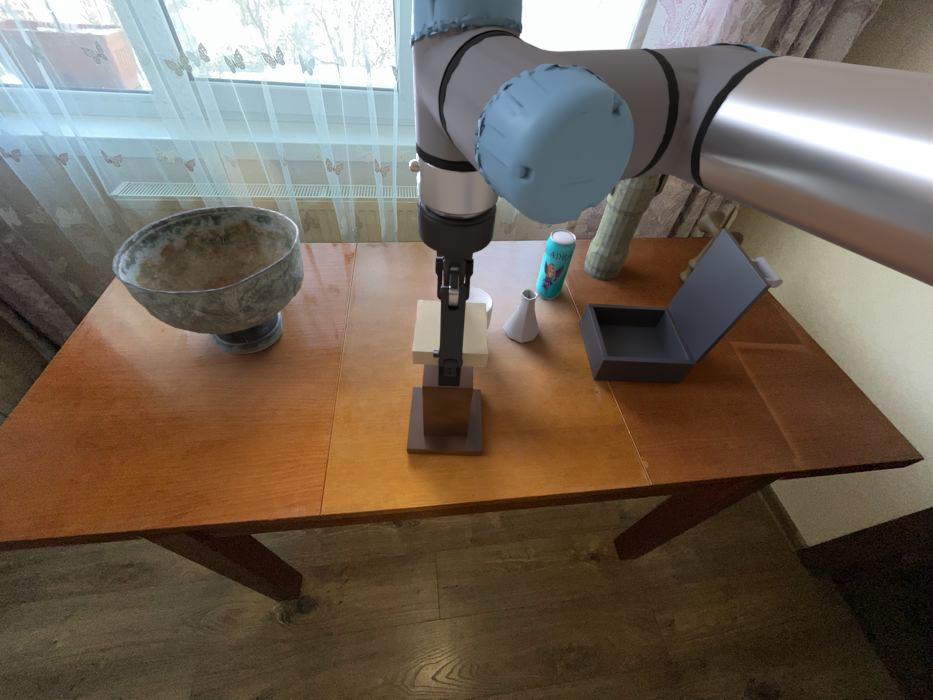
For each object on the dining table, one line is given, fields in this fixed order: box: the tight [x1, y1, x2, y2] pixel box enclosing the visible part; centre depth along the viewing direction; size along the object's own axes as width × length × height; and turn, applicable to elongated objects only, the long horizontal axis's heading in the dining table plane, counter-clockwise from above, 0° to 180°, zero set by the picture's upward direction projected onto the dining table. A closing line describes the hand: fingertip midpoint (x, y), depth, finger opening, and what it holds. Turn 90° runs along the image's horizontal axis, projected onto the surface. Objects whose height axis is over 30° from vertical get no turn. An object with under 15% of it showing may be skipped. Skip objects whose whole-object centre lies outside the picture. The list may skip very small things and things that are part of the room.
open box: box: [578, 302, 697, 384], centre depth 79 cm, size 17×15×6 cm
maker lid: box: [667, 228, 784, 364], centre depth 70 cm, size 18×15×7 cm
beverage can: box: [535, 229, 577, 301], centre depth 86 cm, size 6×6×15 cm
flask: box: [502, 287, 540, 344], centre depth 80 cm, size 7×7×10 cm
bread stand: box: [406, 364, 484, 456], centre depth 62 cm, size 12×12×15 cm
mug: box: [466, 286, 494, 331], centre depth 75 cm, size 12×8×11 cm
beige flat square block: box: [411, 299, 489, 368], centre depth 51 cm, size 9×9×2 cm
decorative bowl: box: [111, 205, 305, 355], centre depth 72 cm, size 26×26×20 cm
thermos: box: [583, 174, 670, 281], centre depth 86 cm, size 9×12×35 cm
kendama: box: [679, 205, 744, 284], centre depth 91 cm, size 6×10×20 cm, turn 0°
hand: (449, 355), depth 54 cm, fingers closed on beige flat square block, 9 cm apart
